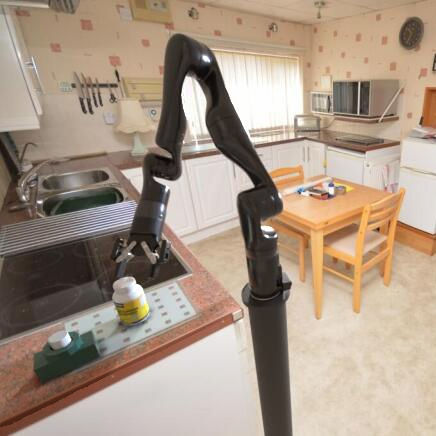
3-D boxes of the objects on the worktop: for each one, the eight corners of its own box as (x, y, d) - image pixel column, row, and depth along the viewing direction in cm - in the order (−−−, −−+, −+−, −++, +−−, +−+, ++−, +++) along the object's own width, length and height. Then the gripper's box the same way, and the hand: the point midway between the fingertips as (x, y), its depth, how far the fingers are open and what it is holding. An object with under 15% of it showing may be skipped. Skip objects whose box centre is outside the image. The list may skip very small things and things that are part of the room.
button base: (97, 341, 70) (88, 322, 67) (100, 358, 66) (92, 339, 63) (41, 365, 64) (29, 346, 61) (41, 385, 60) (29, 366, 57)
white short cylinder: (71, 335, 64) (67, 328, 63) (72, 344, 62) (68, 337, 61) (52, 343, 62) (47, 335, 61) (52, 353, 60) (48, 345, 59)
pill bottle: (115, 324, 75) (100, 289, 69) (134, 306, 80) (122, 272, 75) (137, 328, 74) (124, 293, 68) (155, 310, 79) (144, 276, 74)
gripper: (181, 224, 84) (169, 281, 79) (133, 222, 84) (117, 279, 79) (167, 216, 77) (153, 278, 72) (114, 214, 77) (96, 275, 72)
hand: (134, 278), depth 75 cm, fingers open, 8 cm apart
